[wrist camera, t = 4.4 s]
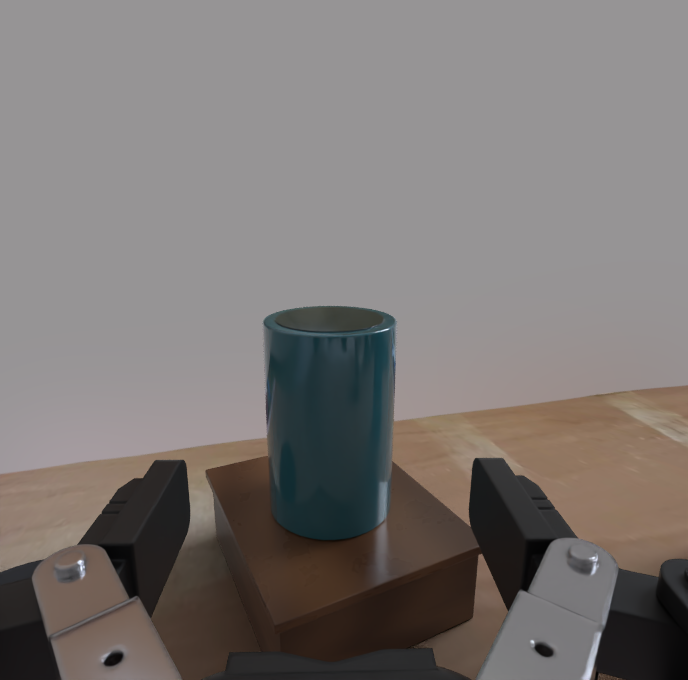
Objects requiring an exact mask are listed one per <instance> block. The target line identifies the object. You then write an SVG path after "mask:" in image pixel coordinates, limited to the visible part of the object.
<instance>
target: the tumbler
mask: <svg viewBox="0 0 688 680" xmlns="http://www.w3.org/2000/svg"><path fill="white" fill-rule="evenodd" d="M396 332H397V321H396V319H395V318H394V317H393V316H391V315H389V314H386V313H384V312H380V311H376V310H372V309H365V308H358V307H345V306H344V307H343V306H317V307H303V308H295V309H289V310H284V311H280V312H276V313H274V314H271V315H269V316H267V317H266V318H265V319H264V320H263V345H264V368H265V369H264V371H265V395H266V418H267V419H266V420H267V445H268V470H269V495H270V509H271V513H272V515H273V517H274V518H275V520H276V521H277V522H278V523H279V524H280V525H281V526H282V527H283V528H285V529H286V530H288V531H290V532H292V533H294V534H297V535H299V536H302V537H306V538H310V539H316V540H342V539H348V538H353V537H356V536H360V535H362V534H365V533H367V532H369V531H371V530H373V529H374V528H376V527H377V526H379V525H380V524H381V523H382V522H383V521H384V519H385V518H386V517H387V515H388V513H389V511H390V507H391V481H392V451H393V422H394V419H393V418H394V393H395V392H394V391H395V364H396V363H395V362H396V334H397V333H396Z"/></svg>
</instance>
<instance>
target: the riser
mask: <svg viewBox="0 0 688 680" xmlns="http://www.w3.org/2000/svg"><path fill="white" fill-rule="evenodd" d="M206 478H207V480H208V483H209V485H210V487H211V489H212V492H213V497H214V510H215V523H216V536H217V538H218V541H219V543H220V546H221V549H222V551H223V554H224V556H225V559H226V561H227V564H228V566H229V569H230V572H231V574H232V577H233V579H234V582H235V584H236V587H237V589H238V592H239V595H240V597H241V600H242V602H243V605H244V607H245V610H246V612H247V615H248V618H249V620H250V623H251V625H252V628H253V630H254V633H255V635H256V638H257V641H258V643H259V646H260V648H261V651H262V652H277V651H280V652H285V653H289V654H294V655H298V656H303V657H307V658H312V659H317V660H321V661H326V662H336V661H340V660H344V659H348V658H351V657H355V656H359V655H363V654H367V653H371V652H374V651H378V650H382V649H406V648H408V647H410V646H412V645H415V644H417V643H419V642H421V641H423V640H425V639H428V638H430V637H432V636H434V635H436V634H438V633H441V632H443V631H445V630H447V629H449V628H451V627H453V626H456V625H458V624H460V623H462V622H464V621H466V620H469V619H471V618H472V617H473V609H474V598H475V587H476V576H477V565H478V555H479V554H482V552H481V549H480V547H479V545H478V543H477V540H476V538H475V536H474V534H473V531H472V528H471V527H470V526H469V525H467V524H466V523H465V522H464V521H463V520H462V519H460V518H459V517H458V516H457V515H456V514H454V513H453V512H452V511H451V510H450V509H448V508H447V507H446V506H445V505H444V504H443V503H441V502H440V501H439V500H438V499H437V498H435V497H434V496H433V495H432V494H431V493H430V492H428V491H427V490H426V489H425V488H424V487H422V486H421V485H420V484H419V483H418V482H416V481H415V480H414V479H413V478H412V477H411V476H409V475H408V474H407V473H406V472H405V471H403V470H402V469H401V468H400V467H399V466H397V465H396V464H395V463H394V462H393V461H392V481H391V507H390V511H389V513H388V515H387V517H386V518H385V519H384V521H383V522H382V523H381V524H380V525H379V526H377V527H376V528H374V529H373V530H371V531H369V532H367V533H365V534H362V535H360V536H356V537H353V538H348V539H342V540H316V539H310V538H306V537H302V536H299V535H297V534H294V533H292V532H290V531H288V530H286V529H285V528H283V527H282V526H281V525H280V524H279V523H278V522H277V521H276V520H275V518H274V517H273V515H272V513H271V509H270V495H269V470H268V456H265V457H260V458H256V459H252V460H247V461H243V462H238V463H234V464H230V465H225V466H221V467H216V468H212V469H208V470H206Z"/></svg>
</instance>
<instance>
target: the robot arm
mask: <svg viewBox="0 0 688 680" xmlns="http://www.w3.org/2000/svg"><path fill="white" fill-rule="evenodd" d="M469 518H470V525H471V528H472V531H473V534H474V536H475V538H476V540H477V543H478V545H479V547H480V549H481V552H482V554H483V556H484V558H485V561H486V563H487V565H488V567H489V570H490V572H491V574H492V576H493V579H494V581H495V583H496V585H497V588H498V590H499V592H500V594H501V597H502V599H503V601H504V603H505V605H506V608H507V610H508V614H507V616H506V618H505V620H504V622H503V624H502V626H501V628H500V630H499V632H498V634H497V636H496V638H495V640H494V642H493V644H492V647H491V649H490V651H489V653H488V655H487V657H486V659H485V661H484V663H483V665H482V667H481V669H480V671H479V673H478V675H477V677H476V679H475V680H598V679H599V674H600V673H603V674H606V675H610V676H614V677H618V678H622V679H625V680H688V560H686V559H671V560H668V561H665V562H664V563H663V564H662V565H661V568H660V573H659V577H656V576H651V575H646V574H641V573H636V572H631V571H627V570H623V569H620V568H618V565H617V563H616V561H615V559H614V558H613V557H612V556H611V555H610V554H609V553H608V552H607V551H605V550H604V549H603V548H601V547H599V546H597V545H595V544H593V543H591V542H588V541H585V540H582V539H578V538H577V536H576V535H575V534H574V532H573V531H572V530H571V528H570V527H569V526H568V524H567V523H566V522H565V520H564V519H563V518H562V516H561V515H560V514H559V512H558V511H557V510H555V507H554V506H553V505H552V503H551V502H550V501H549V500H547V497H546V495H545V494H544V493H543V491H542V490H541V489H540V487H539V486H538V485H536V484H535V483H533V482H532V481H530V480H529V479H528V478H526V477H525V476H515V474H514V473H513V472H512V470H511V469H510V467H509V466H508V464H507V463H506V462H505V460H504V459H503V458H475V459H474V462H473V467H472V478H471V490H470V502H469ZM189 523H190V502H189V490H188V478H187V467H186V463H185V461H184V460H156V461H154V463H153V464H152V466H151V467H150V469H149V470H148V471H147V473H146V474H145V476H144V477H143V478H134V479H133V480H131V481H130V482H128V483H127V484H125V485H124V486H122V487H121V488H120V489H118V491H117V492H116V493H115V495H114V496H113V497H112V499H111V500H110V501H109V504H107V505H106V507H105V508H104V509H103V511H102V514H100V515H99V516H98V517H97V519H96V520H95V522H94V523H93V524H92V526H91V527H90V528H89V530H88V531H87V532H86V534H85V535H84V536H83V538H82V539H81V540H80V542H79V543H78V544H77V545H76V546H71V547H68V548H65V549H62V550H60V551H58V552H56V553H54V554H52V555H50V556H49V557H47V558H46V559H45V560H43V561H42V562H41V563H40V564H39V565H38V566H37V568H36V569H35V571H34V573H33V576H32V577H31V578H27V579H23V580H19V581H14V582H10V583H6V584H1V585H0V680H183V679H182V677H181V676H180V674H179V672H178V670H177V668H176V666H175V664H174V662H173V660H172V659H171V657H170V655H169V653H168V651H167V649H166V647H165V645H164V643H163V642H162V640H161V638H160V636H159V634H158V632H157V630H156V628H155V627H154V625H153V623H152V621H151V619H150V618H151V616H152V614H153V611H154V609H155V607H156V604H157V602H158V600H159V598H160V595H161V593H162V591H163V588H164V586H165V584H166V581H167V579H168V577H169V574H170V572H171V570H172V567H173V565H174V563H175V560H176V558H177V556H178V554H179V551H180V549H181V547H182V544H183V542H184V540H185V537H186V535H187V532H188V528H189ZM202 680H471V679H469V678H468V677H466V676H463V675H461V674H459V673H457V672H454V671H451V670H448V669H446V668H442V667H438V666H436V662H435V658H434V654H433V650H432V648H421V649H382V650H378V651H374V652H371V653H367V654H363V655H359V656H355V657H351V658H348V659H344V660H340V661H336V662H326V661H321V660H317V659H312V658H307V657H303V656H298V655H294V654H289V653H285V652H280V651H277V652H229V656H228V661H227V665H226V670H225V671H223V672H219V673H216V674H213V675H211V676H208V677H206V678H204V679H202Z"/></svg>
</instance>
